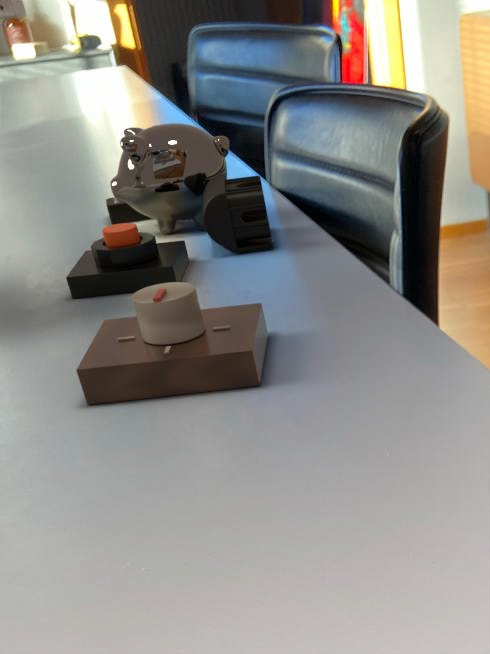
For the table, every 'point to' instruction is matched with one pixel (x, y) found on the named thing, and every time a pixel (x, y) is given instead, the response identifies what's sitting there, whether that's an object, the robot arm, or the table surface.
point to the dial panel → (175, 358)
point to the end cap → (236, 214)
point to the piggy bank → (168, 171)
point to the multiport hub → (122, 212)
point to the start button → (121, 234)
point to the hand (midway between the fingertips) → (8, 18)
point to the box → (127, 267)
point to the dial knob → (168, 313)
